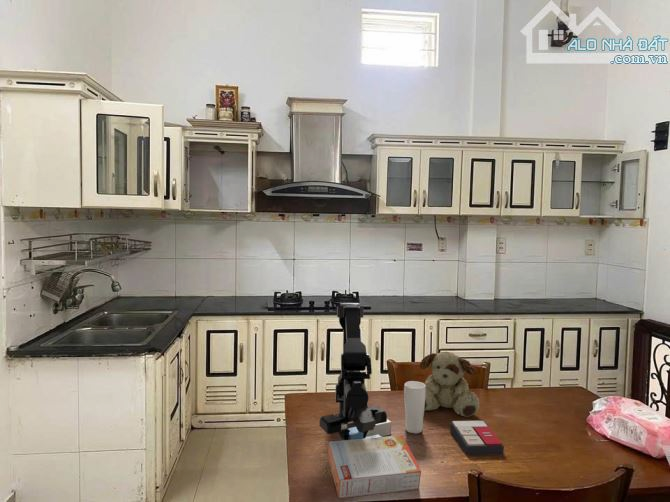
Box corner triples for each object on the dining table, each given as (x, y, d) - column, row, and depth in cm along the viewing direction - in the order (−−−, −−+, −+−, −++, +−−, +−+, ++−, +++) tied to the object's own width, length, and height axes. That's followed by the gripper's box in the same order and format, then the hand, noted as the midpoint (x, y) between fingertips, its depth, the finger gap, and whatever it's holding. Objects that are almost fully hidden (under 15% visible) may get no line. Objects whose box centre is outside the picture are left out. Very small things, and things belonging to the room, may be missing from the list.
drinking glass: (424, 436, 141) (425, 389, 140) (402, 434, 142) (403, 387, 141) (424, 426, 147) (425, 381, 146) (403, 424, 149) (404, 380, 148)
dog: (409, 410, 161) (411, 355, 159) (420, 392, 178) (422, 342, 177) (478, 422, 152) (480, 363, 151) (482, 402, 169) (484, 349, 168)
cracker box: (401, 452, 126) (327, 458, 122) (403, 434, 124) (328, 439, 120) (419, 491, 113) (337, 499, 108) (422, 471, 111) (338, 478, 107)
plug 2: (362, 433, 142) (362, 421, 142) (384, 428, 146) (384, 416, 145) (369, 439, 138) (369, 426, 138) (391, 434, 142) (391, 421, 142)
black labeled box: (467, 444, 129) (450, 419, 144) (466, 458, 130) (449, 431, 145) (504, 443, 130) (483, 418, 145) (503, 457, 131) (483, 431, 145)
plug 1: (343, 456, 128) (343, 429, 127) (355, 453, 130) (356, 426, 129) (351, 464, 124) (351, 436, 123) (364, 461, 125) (364, 433, 125)
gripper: (337, 411, 114) (336, 470, 115) (398, 399, 123) (397, 455, 124) (319, 395, 124) (318, 450, 125) (377, 385, 133) (375, 437, 134)
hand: (353, 448), depth 127 cm, fingers closed on plug 1, 4 cm apart
